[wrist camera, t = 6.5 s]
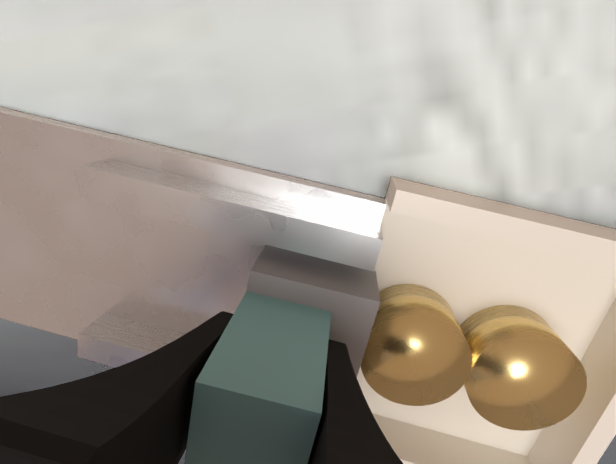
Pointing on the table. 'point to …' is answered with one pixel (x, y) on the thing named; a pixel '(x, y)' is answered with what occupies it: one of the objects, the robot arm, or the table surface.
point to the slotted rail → (150, 234)
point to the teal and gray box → (279, 359)
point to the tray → (501, 291)
